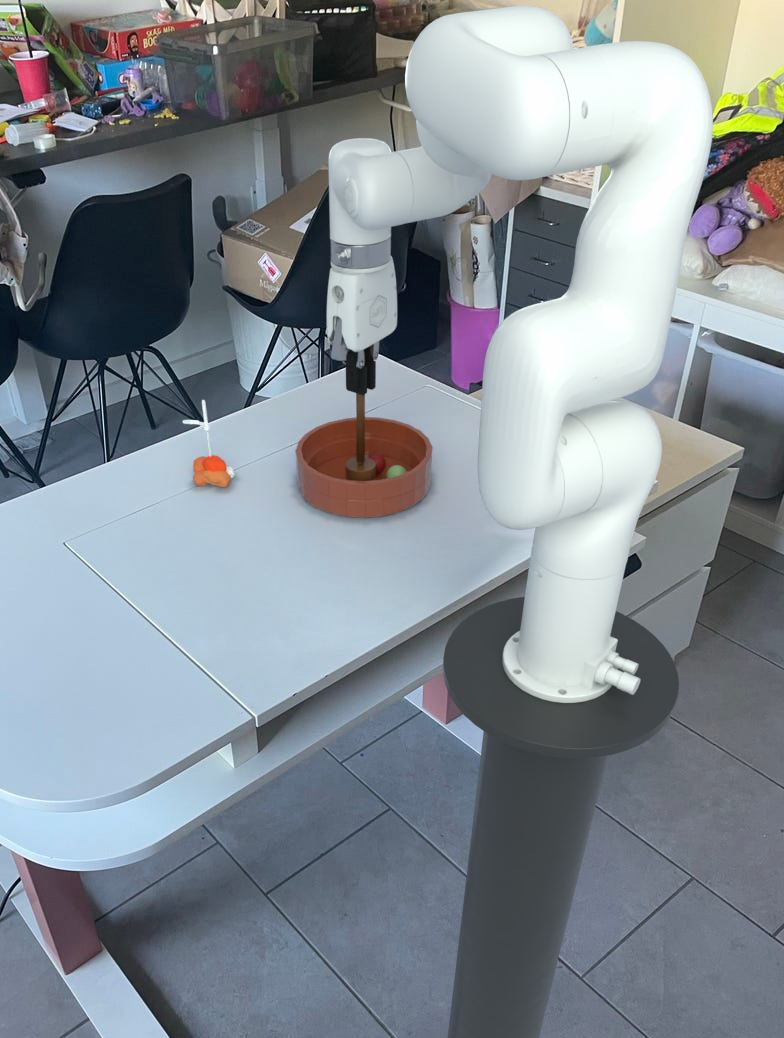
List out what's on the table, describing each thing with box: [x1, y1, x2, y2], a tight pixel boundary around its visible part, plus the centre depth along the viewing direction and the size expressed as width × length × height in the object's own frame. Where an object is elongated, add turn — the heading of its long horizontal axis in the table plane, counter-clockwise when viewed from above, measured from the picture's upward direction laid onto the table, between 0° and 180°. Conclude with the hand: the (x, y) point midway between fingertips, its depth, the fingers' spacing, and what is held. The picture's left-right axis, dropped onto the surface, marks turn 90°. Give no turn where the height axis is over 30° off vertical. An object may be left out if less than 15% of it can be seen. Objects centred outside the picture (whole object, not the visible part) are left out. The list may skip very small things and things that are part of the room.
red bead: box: [368, 454, 386, 474], centre depth 140 cm, size 3×3×3 cm
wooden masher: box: [346, 352, 376, 481], centre depth 132 cm, size 4×4×19 cm
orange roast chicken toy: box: [182, 399, 236, 488], centre depth 139 cm, size 6×10×12 cm, turn 38°
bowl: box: [295, 416, 433, 518], centre depth 137 cm, size 20×20×6 cm
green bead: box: [387, 465, 406, 479], centre depth 137 cm, size 3×3×3 cm
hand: (360, 388), depth 129 cm, fingers closed on wooden masher, 1 cm apart
